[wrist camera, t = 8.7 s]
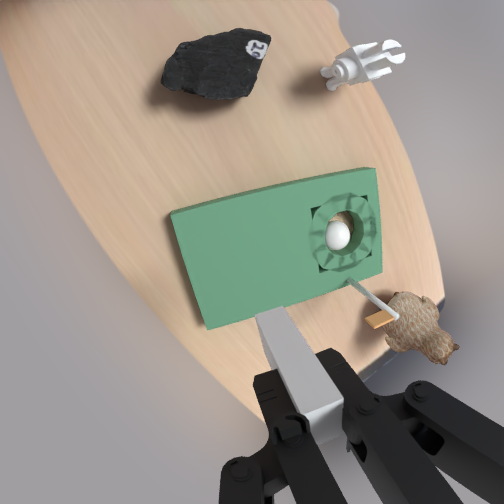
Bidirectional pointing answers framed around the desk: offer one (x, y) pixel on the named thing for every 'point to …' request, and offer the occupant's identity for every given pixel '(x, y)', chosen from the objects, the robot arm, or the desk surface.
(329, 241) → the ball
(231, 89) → the rock
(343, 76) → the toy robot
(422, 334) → the figurine
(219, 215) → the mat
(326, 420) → the robot arm
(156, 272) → the desk surface
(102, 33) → the desk surface
